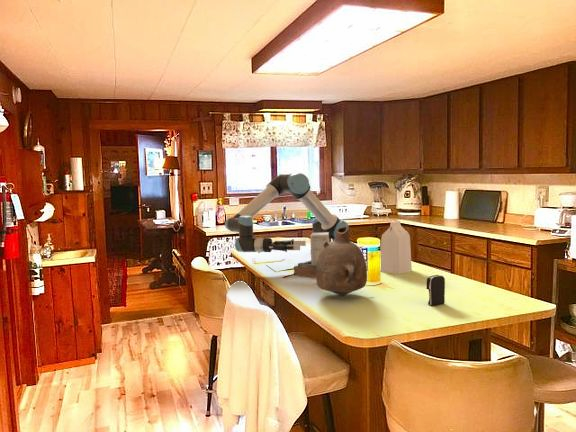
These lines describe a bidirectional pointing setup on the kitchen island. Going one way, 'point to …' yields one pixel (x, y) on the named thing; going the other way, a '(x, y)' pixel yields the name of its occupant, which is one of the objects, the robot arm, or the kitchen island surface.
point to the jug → (341, 265)
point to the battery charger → (436, 289)
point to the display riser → (305, 269)
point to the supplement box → (317, 245)
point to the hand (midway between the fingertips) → (302, 245)
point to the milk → (395, 250)
